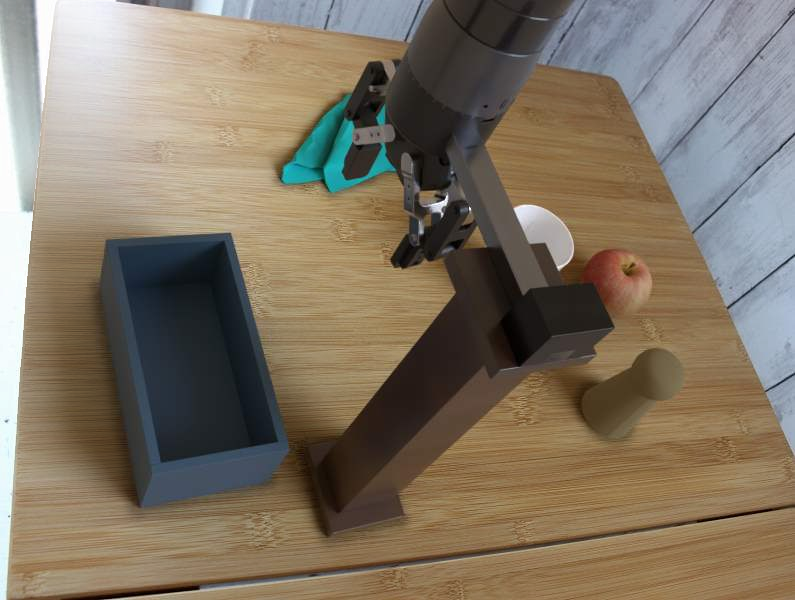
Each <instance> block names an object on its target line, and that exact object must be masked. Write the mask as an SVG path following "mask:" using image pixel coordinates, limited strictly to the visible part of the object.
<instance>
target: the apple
mask: <svg viewBox="0 0 795 600" xmlns="http://www.w3.org/2000/svg"><path fill="white" fill-rule="evenodd" d="M586 282H594V284H595V286H596V288H597V291H598V293H599V295H600V297H601V299H602V301H603V303H604V305H605V307H606V309H607V312H608V314H609V316H610V318H611V319H613V320H615V319H616V320H617V319H618V320H619V319H620V320H621V319H624V318H625V319H626V318H628V317H631V316H633V315H635V314H636V313H637V312H639V311H640V310H642V308H643V307H644V306H645V305H646V304H647V302H648V300H649V298H650V296H651V293H652V289H653V279H652V275H651V272H650V270H649V268H648V266H647V265H646V263H645V262H644V261H643V259H642V258H641V257H640V256H639V255H637V254H636V253H634V252H633V251H631V250H629V249H628V250H627V249H622V248H608V249H603V250H601V251H598V252H596V253H595V254H593V256H591V258H590V259H589V260H588V261H587V263H586V264H585V266H584V267H583V269H582V271H581V274H580V280H579V283H586Z"/></svg>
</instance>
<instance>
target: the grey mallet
mask: <svg viewBox="0 0 795 600" xmlns="http://www.w3.org/2000/svg"><path fill="white" fill-rule="evenodd" d="M444 147H445V150H446V152H447V155H448V157H449V159H450V162H451V164H452V166H453V169H454V171H455V173H456V176H457V178H458V181H459V183H460V185H461V188H462V190H463V192H464V195H465V197H466V199H467V202H468V204H469V206H470V209H471V211H472V214H473V216H474V218H475V221H476V223H477V228H478V230H479V233H480V235H481V236H482V240H483V242H484V244H485V246H486V247H487V249H488V251H489V254H490V256H491V258H492V261H493V263H494V266H495V268H496V270H497V273H498V275H499V277H500V280H501V282H502V284H503V287H504V289H505V292H506V294H507V296H508V299H509V301H510V303H511V306H512V308H511V310H510V311H509V312H508V313H507V314H506V315H505V316H504V317H503V318H502V319H501V320H500V323H501V325H502V327H503V330H504V332H505V335H506V337H507V340H508V342H509V344H510V347H511V349H512V352H513V354H514V356H515V359H516V361H517V364H518V366H519V367H525V366H531V365H538V364H544V363H550V362H557V361H563V360H569V359H576V358H581V357H582V356H583V355H584V354H585V353H587V352H588V351H589V350H590V349H591V348H592V347H594V348H595V346H597V344H598V343H600V342H601V341H602V340H604V338H606V337H607V336H608V335H609V334H610V333H611V332H613V331H614V330H615V329H616V326H615V324H614V322H613V319H612V318H610V316H609V314H608V312H607V309H606V307H605V305H604V303H603V301H602V299H601V297H600V295H599V293H598V291H597V288H596V286H595V284H594V282H586V283H580V282H576V283H571V284H570V283H567V284H565V285H557V286H548V284H547V282H546V280H545V278H544V275H543V273H542V271H541V269H540V266H539V264H538V262H537V260H536V258H535V255H534V253H533V251H532V249H531V246H530V244H529V242H528V240H527V238H526V235H525V233H524V231H523V229H522V226H521V224H520V222H519V220H518V218H517V215H516V213H515V211H514V209H513V208H514V206H513V204H512V201H511V200H510V197H509V195H508V193H507V191H506V189H505V187H504V184H503V182H502V180H501V177H500V175H499V173H498V171H497V169H496V166H495V164H494V161H493V160H492V158H491V156H490V153H489V151H488V148H487V147H486V143H485V144H484V142H483V140H482V138H481V135H462V134H457V133H452V135H451V137H450V138H449V140H448V141H447V143H446V145H445V146H444Z"/></svg>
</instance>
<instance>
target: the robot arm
mask: <svg viewBox="0 0 795 600" xmlns="http://www.w3.org/2000/svg"><path fill="white" fill-rule="evenodd" d="M576 1H577V0H432V1H431V2H430V4H429V5H428V7H427V8H426V10H425V12H424V14H423V16H422V18H421V20H420V22H419V23H418V26H417V28H416V29H415V32H414V33H413V36H412V38H411V40H410V42H409V43H408V46H407V48H406V50H405V52H404V53H403V56H402V57H401V59H400V58H390V59H382V60H371V61H368V62H367V63H366V66H365V68H364V70H363V71H362V73H361V75H360V77H359V79H358V81H357V83H356V85H355V87H354V89H353V91H352V93H350V94H351V96H350V98H349V100H348V102H347V104H346V106H345V108H344V115H345V118H346V120H347V121H352V122H353V125H354V130H353V131H352V140H353V142H352V144H351V146H350V148H349V150H348V152H347V154H346V156H345V159H344V167H343V169H342V171H341V172H342V174H343V176H344V178H345V180H353V179H358V178H363V177H365V176H367V175H368V174H369V172H370V170H371V168H372V166H373V164H374V162H375V160H376V158H377V157H378V155H379V153H380V151H381V149H382V145H381V143H383V142H384V143H385V149H386V153H385V156H386V158H387V159H388V161H389V163H390V164H391V165H392V166H393V167H394V168H395V170H396V171H395V172H396V175H397V178H398V180H399V182H400V184H401V185H402V187H403V211H404V212H405V213H407V214H408V233H406V234H405V235H403V238H402V240H401V241H400V242H399V244H398V246H397V247H396V249H395V250H394V252H393V253H392V255H391V256H390V258H389V261H390V263H391V265H392V267H393V268H394V269H399V268H401V270H406V269H409V268H414V267H417V266H420V265H422V263H423V262H424V260H426V261H427V262H429V263H432V262H436V261H438V260H441V259H444V258H445V257H446V256H447V254H448V253H449V252H450V250H454V249H464V247H465V246H466V244H467V243H468V241H469V239H470V238H471V236H472V235H473V233H474V232H475V230H476V229H477V228H478V225H477V223H476V221H475V218H474V216H473V214H472V211H471V209H470V206H469V204H468V202H467V199H466V197H465V195H464V192H463V190H462V188H461V185H460V183H459V181H458V178H457V176H456V173H455V171H454V169H453V166H452V164H451V162H450V159H449V157H448V155H447V152H446V150H445V147H444V146H445V145H446V143H447V141H448V140H449V138H450V137H451V135H452V133H457V134H462V135H481V138H482V140H483V142H484V144H485V145H486V143H487V142H488V141H489V139H490V137H491V136H492V135H493V133H494V131H495V130H496V128H497V127H498V126H499V124H500V123H501V121H502V120H503V119H504V117H505V115H506V113H508V111H509V109H510V108H511V106H512V105H513V104H514V102H515V101H516V98H517V97H518V96H519V94H520V92H521V91H522V89H523V88H524V87H525V85H526V84H527V82H528V80H529V79H530V77H531V76H532V74H533V72H534V70H535V69H536V66H537V65H538V62H539V60H540V57H541V56H542V53H543V52H544V50H545V48H546V46H547V45H548V43H549V42H550V41H551V39H552V38H553V36H554V34H555V33H556V32H557V30H558V29H559V27H560V25H561V24H562V22H563V21H564V20H565V18H566V16H567V15H568V13H569V12H570V10H571V9H572V7H573V6H574V4H575V3H576ZM384 105H385V125H379V124H378V121H377V118H376V117H378V115H379V113H380V112H381V110H382V108H383V106H384ZM433 191H434V192H435V194H434V195H433V196H431V197H427V198H422V199H421V198H420V197H421V192H433ZM428 215H430V224H429V225H425V218H426V216H428Z"/></svg>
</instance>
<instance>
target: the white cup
mask: <svg viewBox="0 0 795 600" xmlns="http://www.w3.org/2000/svg"><path fill="white" fill-rule="evenodd" d="M513 209H514V211H515V213H516V215H517V218H518V220H519V222H520V224H521V226H522V229H523V231H524V233H525V235H526V238H527V240H528V242H529V244H534V243H546V245H547V247H548V249H549V251H550V253H551V255H552V258H553V260H554V262H555V264H556V266H557V268H558V271H559V272H560V271H561V270H563V269H564V268H565V267H566V266H567V265H568V263H570V262H571V260H572V259H573V256H574V252H575V251H574V250H575V245H574V239H573V236H572V234H571V232H570V230H569V229H568V227H567V225H566V224H565V223H564V222H563V221H562V219H560V217H558V216H557V215H555V214H554V213H553V212H551V211H550V210H548V209H546V208H544V207H542V206H538V205H536V204H530V203H529V204H519V205H516V206H513ZM484 247H486V245H485V246H484Z"/></svg>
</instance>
